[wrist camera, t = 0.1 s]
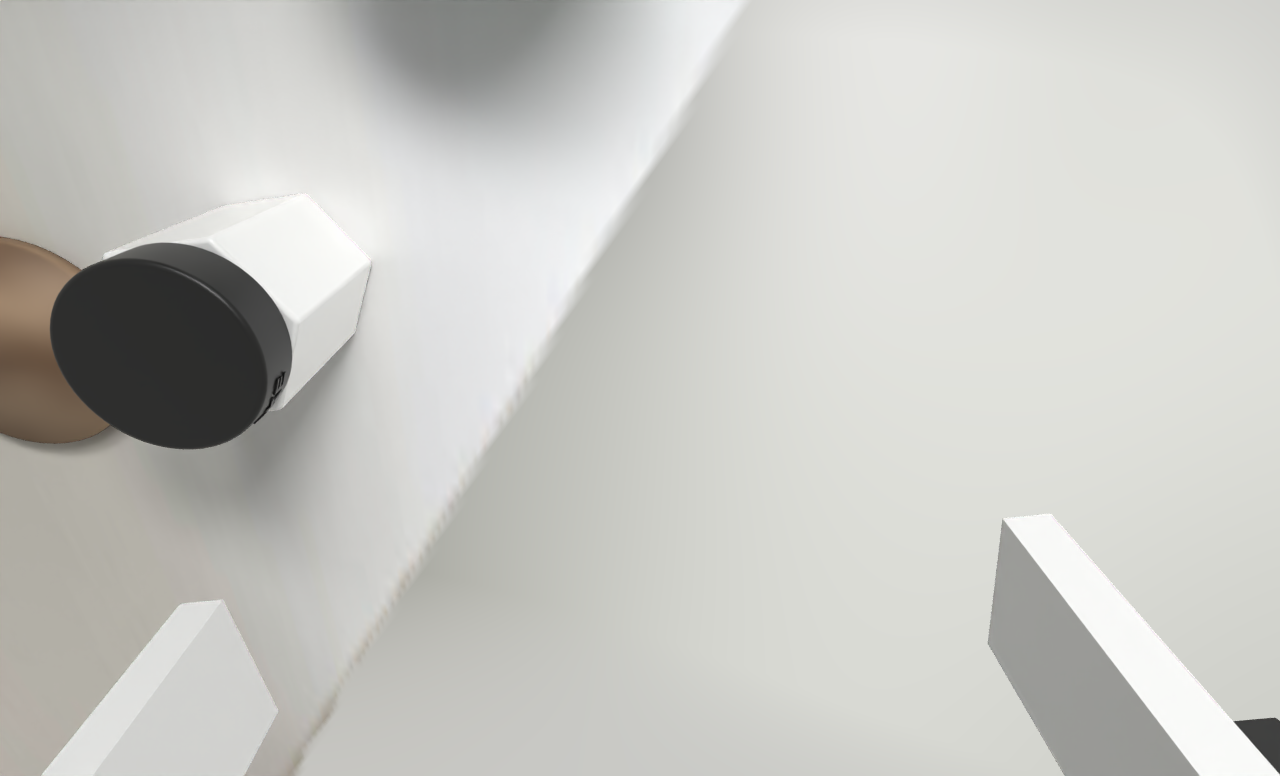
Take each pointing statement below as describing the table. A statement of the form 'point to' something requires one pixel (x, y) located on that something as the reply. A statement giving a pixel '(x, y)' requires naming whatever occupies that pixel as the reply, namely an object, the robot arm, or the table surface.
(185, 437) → the jar
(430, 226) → the table surface
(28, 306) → the candle base
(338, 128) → the table surface
